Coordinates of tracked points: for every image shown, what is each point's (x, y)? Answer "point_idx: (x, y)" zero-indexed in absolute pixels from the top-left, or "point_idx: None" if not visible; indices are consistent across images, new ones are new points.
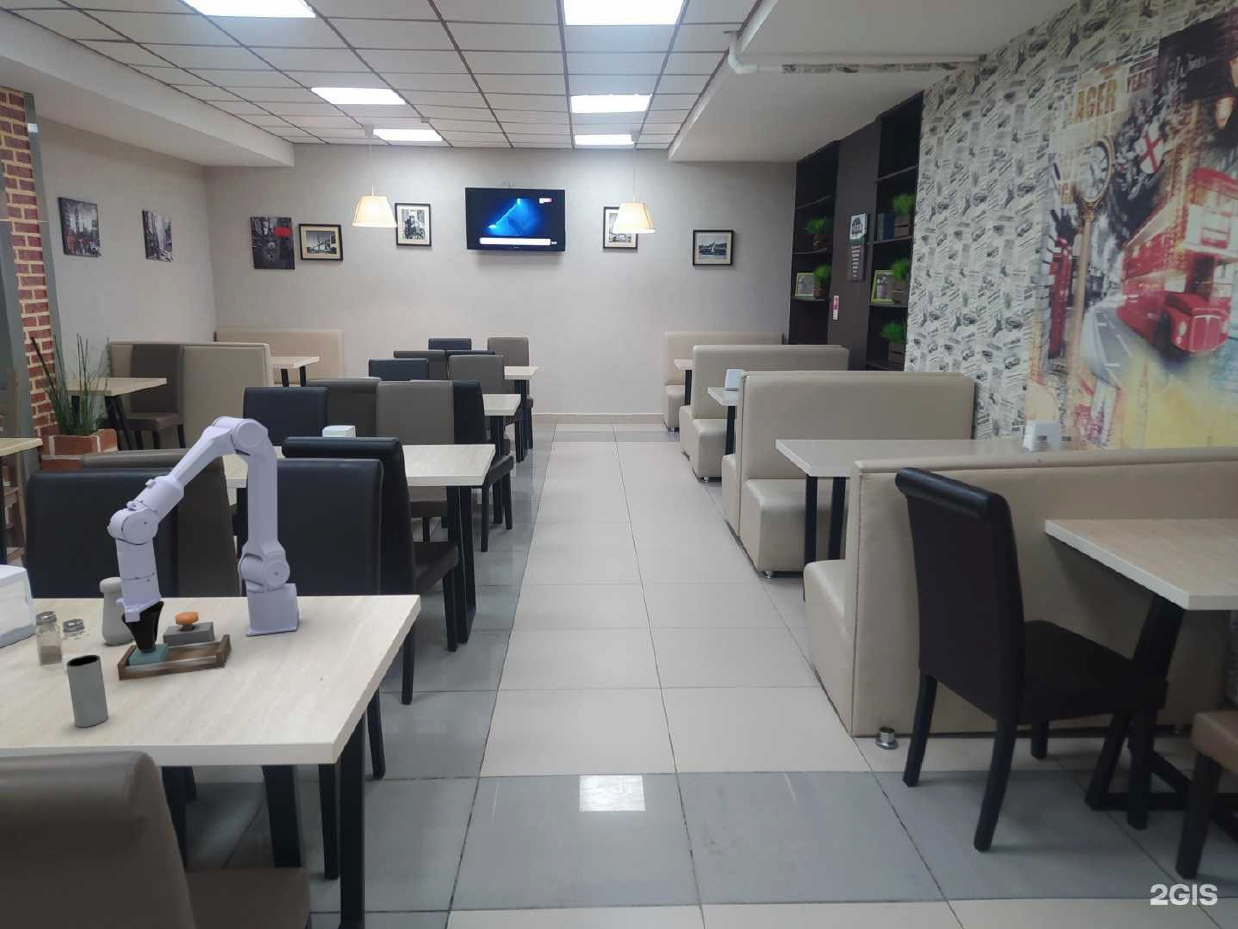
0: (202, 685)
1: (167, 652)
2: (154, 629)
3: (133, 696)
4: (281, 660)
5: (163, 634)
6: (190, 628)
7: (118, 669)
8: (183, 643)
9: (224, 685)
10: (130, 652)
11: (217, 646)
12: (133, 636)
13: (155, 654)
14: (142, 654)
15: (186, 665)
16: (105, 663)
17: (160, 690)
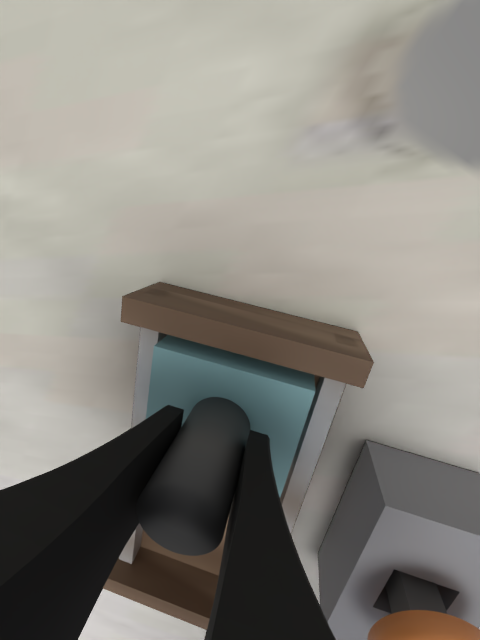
0: (36, 474)
1: None
2: (224, 548)
3: (16, 321)
4: (121, 624)
5: (404, 512)
6: (392, 607)
7: (136, 293)
8: (347, 520)
9: None
10: (257, 355)
11: None
12: (102, 446)
13: None
14: (184, 399)
15: None
16: (407, 219)
17: (36, 388)
